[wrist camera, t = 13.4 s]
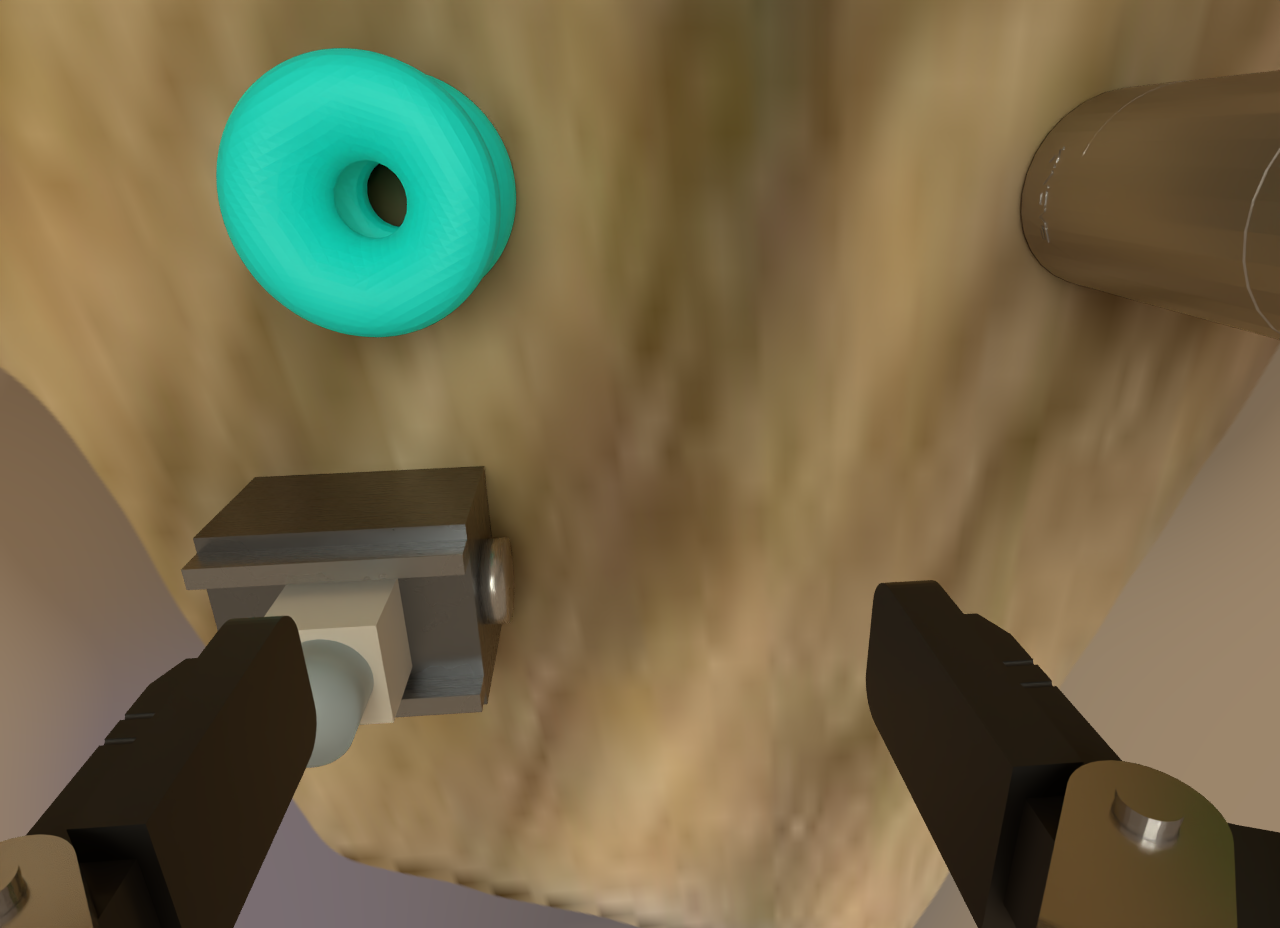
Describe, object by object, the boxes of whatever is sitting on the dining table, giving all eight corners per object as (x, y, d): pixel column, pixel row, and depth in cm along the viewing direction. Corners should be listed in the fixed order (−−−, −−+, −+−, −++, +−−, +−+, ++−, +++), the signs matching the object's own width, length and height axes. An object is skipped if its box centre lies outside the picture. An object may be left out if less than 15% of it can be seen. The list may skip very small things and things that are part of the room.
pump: (397, 576, 36) (356, 669, 30) (412, 666, 38) (376, 772, 32) (287, 583, 36) (221, 678, 29) (307, 673, 38) (249, 781, 31)
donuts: (547, 264, 29) (318, 391, 30) (557, 236, 38) (382, 333, 39) (390, -18, 25) (137, 138, 26) (443, 27, 34) (254, 141, 35)
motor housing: (506, 465, 42) (488, 537, 34) (522, 624, 46) (508, 722, 38) (254, 477, 41) (176, 554, 33) (291, 637, 45) (228, 740, 37)
